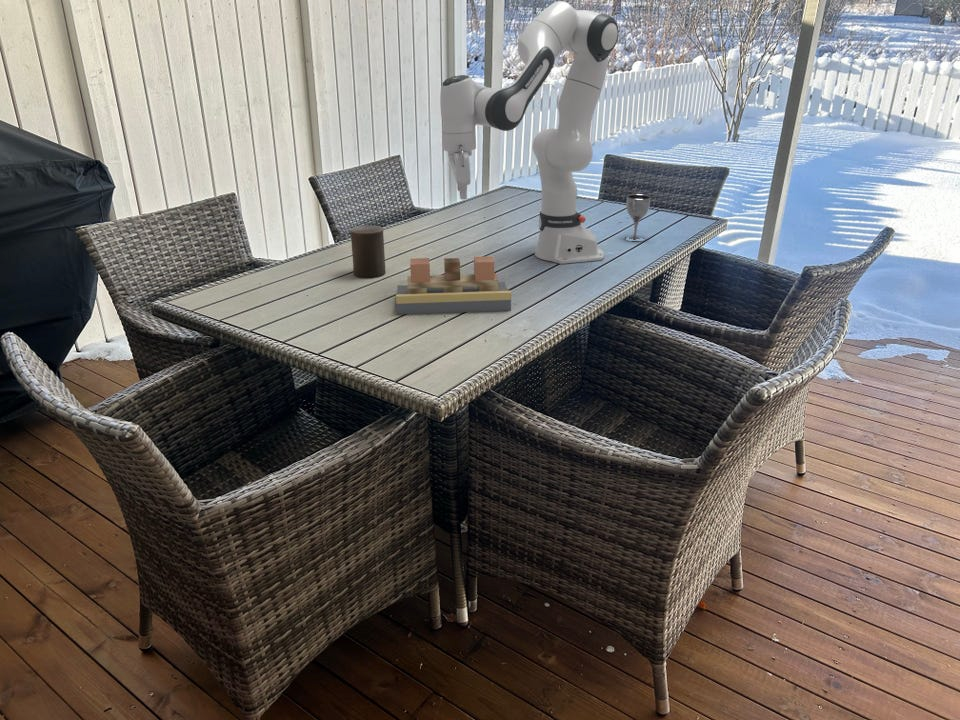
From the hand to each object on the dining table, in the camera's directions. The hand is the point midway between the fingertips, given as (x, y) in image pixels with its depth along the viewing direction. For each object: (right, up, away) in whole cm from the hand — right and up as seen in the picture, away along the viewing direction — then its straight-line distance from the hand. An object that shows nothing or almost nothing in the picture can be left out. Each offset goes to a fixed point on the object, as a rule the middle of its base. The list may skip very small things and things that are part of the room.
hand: (462, 194), depth 185 cm
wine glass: (+60, -3, +53) cm, 80 cm away
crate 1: (-11, -24, -5) cm, 27 cm away
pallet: (-2, -27, -3) cm, 27 cm away
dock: (-2, -30, -1) cm, 30 cm away
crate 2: (+6, -23, -4) cm, 24 cm away
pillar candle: (-29, -19, +21) cm, 41 cm away
